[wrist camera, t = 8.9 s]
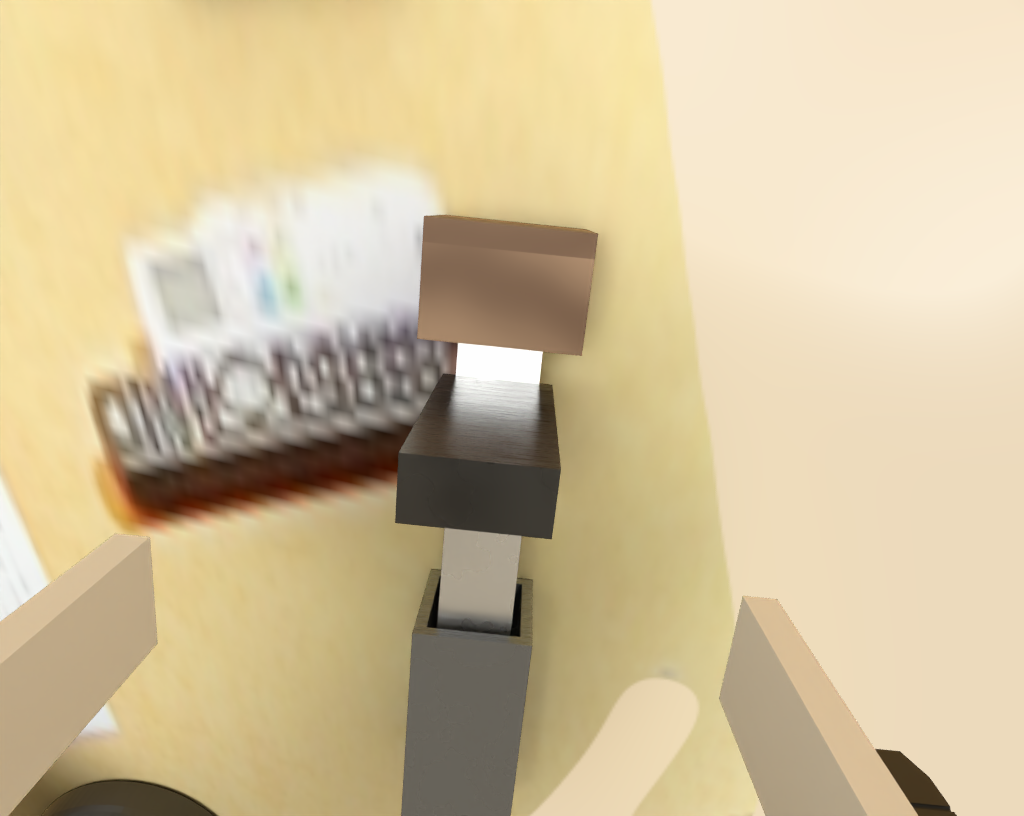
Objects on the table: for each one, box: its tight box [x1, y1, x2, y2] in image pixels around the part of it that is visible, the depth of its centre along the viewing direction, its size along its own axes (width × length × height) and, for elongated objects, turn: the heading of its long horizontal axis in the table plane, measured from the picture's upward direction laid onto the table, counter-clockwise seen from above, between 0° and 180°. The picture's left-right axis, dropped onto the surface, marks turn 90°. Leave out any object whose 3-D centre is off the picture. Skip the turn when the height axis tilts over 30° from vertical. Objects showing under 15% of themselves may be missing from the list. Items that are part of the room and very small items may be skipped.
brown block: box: [417, 215, 598, 356], centre depth 29 cm, size 5×7×6 cm
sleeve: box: [401, 569, 532, 816], centre depth 37 cm, size 14×6×6 cm, turn 174°
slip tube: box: [395, 343, 561, 636], centre depth 28 cm, size 22×5×14 cm, turn 174°
